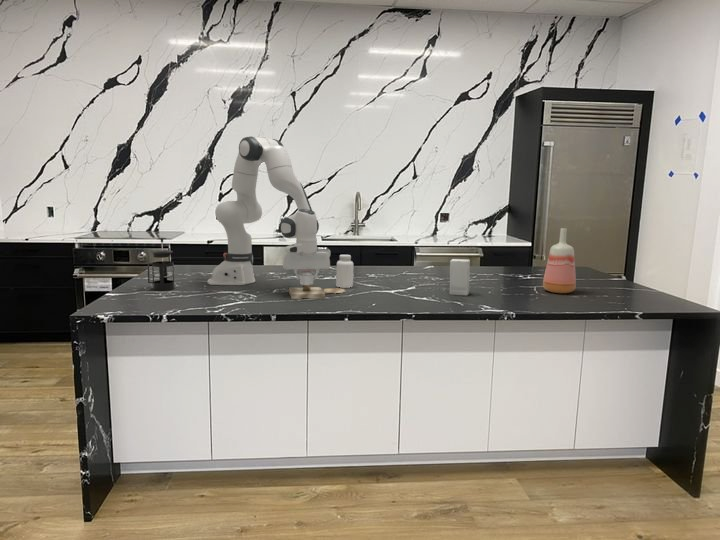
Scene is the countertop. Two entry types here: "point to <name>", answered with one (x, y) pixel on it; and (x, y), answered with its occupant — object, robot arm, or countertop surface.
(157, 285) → the french press
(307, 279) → the cap
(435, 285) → the countertop surface
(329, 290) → the coaster
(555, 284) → the vase
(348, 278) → the pill bottle
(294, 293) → the post stand
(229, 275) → the robot arm
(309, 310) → the countertop surface
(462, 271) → the skincare box
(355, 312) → the countertop surface
